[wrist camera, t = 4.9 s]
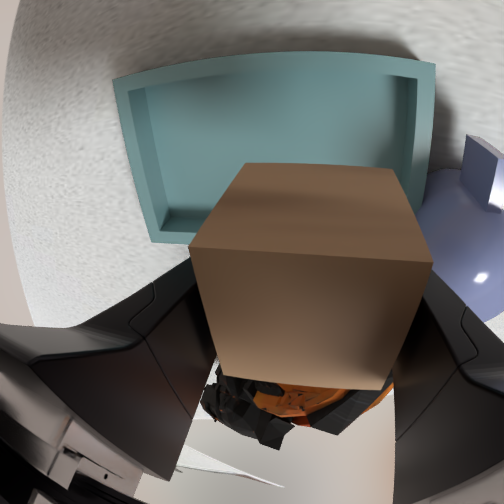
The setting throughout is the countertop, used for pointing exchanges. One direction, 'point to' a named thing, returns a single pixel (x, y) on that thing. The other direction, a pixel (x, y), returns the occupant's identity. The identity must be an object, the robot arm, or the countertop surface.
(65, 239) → the countertop surface
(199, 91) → the tray
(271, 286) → the block walnut
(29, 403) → the robot arm
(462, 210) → the mug
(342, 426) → the tool
